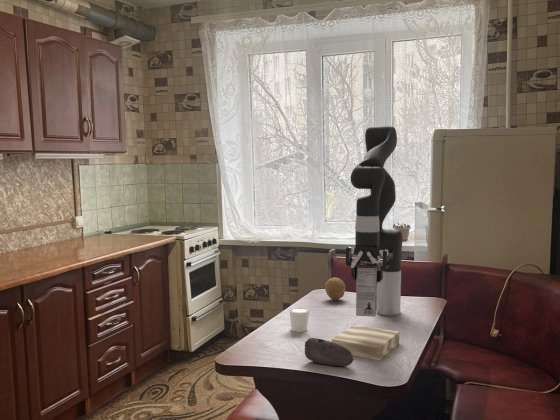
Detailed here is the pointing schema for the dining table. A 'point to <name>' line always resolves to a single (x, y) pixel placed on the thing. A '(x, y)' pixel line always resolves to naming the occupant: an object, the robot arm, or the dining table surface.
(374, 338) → the birch plinth
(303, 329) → the white faceted cup
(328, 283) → the natural sponge
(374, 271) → the coffee box
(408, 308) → the dining table surface
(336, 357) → the perforated stone tool
